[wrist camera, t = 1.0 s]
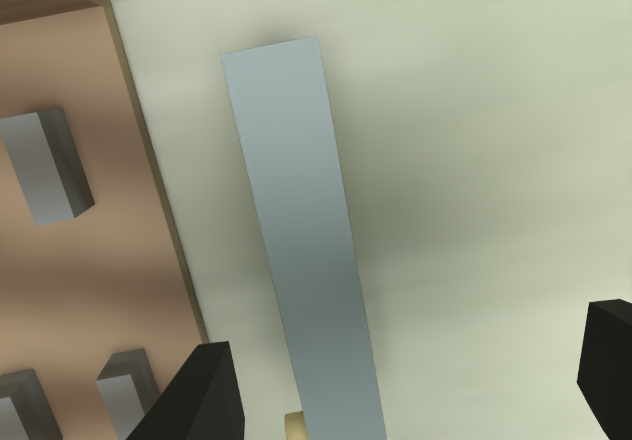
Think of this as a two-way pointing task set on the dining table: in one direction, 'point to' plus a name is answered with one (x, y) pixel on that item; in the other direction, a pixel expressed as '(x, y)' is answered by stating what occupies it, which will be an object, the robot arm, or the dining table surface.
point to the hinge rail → (82, 233)
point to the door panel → (306, 236)
